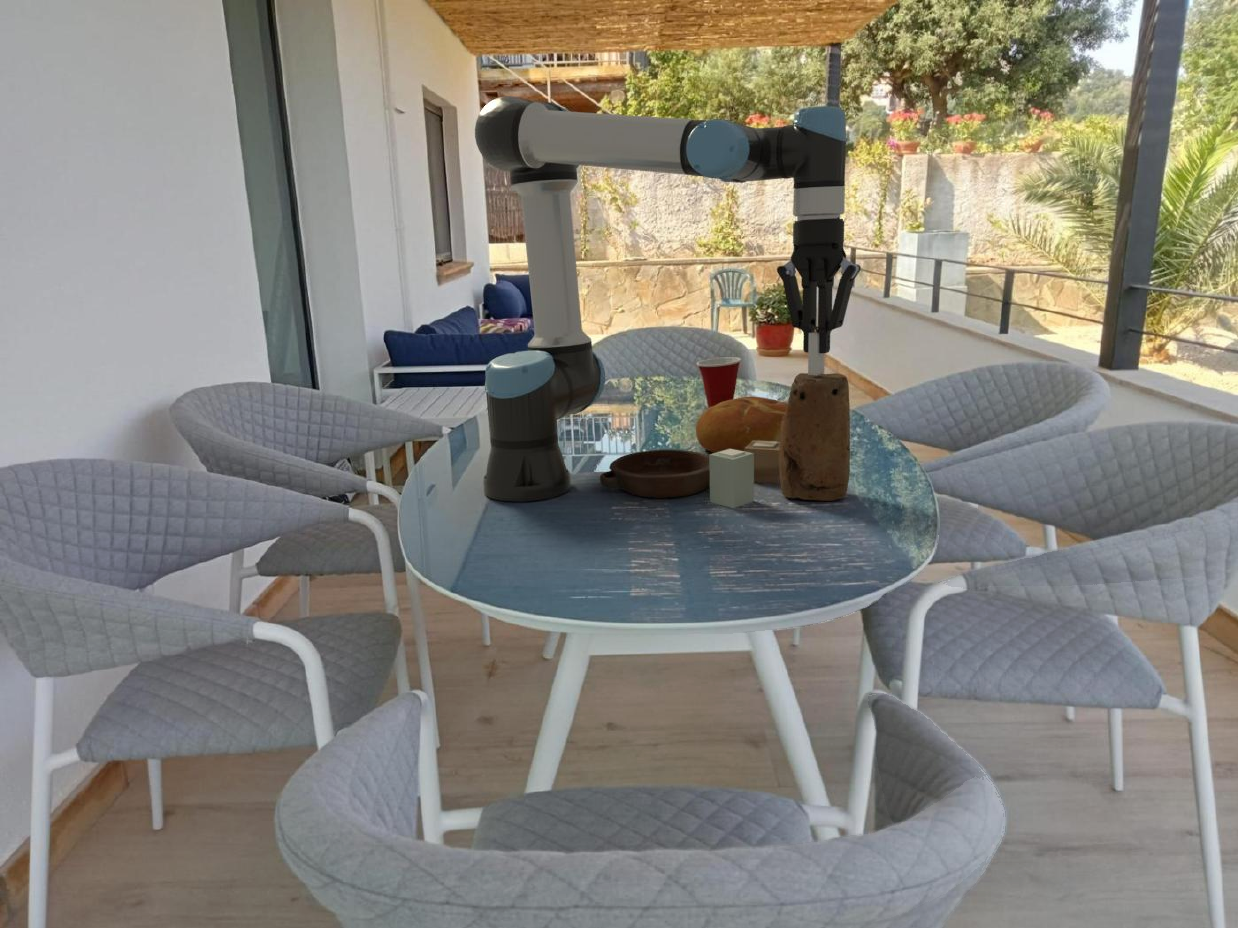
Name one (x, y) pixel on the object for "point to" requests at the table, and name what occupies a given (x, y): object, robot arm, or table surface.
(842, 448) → the brown pitted rock
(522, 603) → the table surface
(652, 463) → the dish
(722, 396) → the plastic cup
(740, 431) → the bread
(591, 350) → the robot arm
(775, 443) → the walnut cube
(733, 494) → the grey-green post
